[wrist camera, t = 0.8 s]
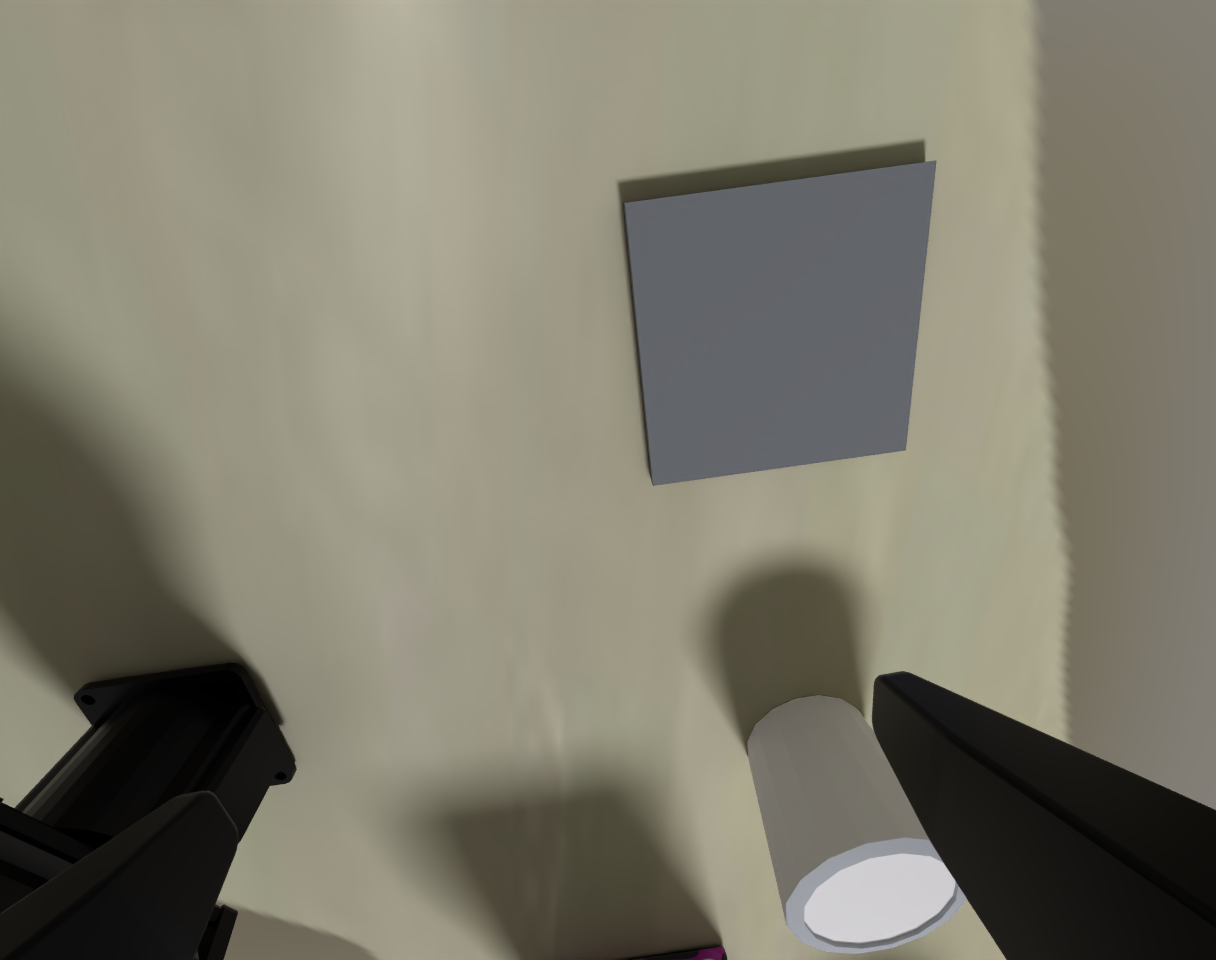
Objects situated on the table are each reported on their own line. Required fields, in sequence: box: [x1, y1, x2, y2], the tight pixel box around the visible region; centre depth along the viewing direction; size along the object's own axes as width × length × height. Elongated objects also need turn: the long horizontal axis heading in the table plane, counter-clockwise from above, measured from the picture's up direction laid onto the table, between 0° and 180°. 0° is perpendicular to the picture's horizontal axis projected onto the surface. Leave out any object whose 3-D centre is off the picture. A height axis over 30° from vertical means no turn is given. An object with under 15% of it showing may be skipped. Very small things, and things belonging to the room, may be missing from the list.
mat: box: [623, 161, 936, 486], centre depth 18 cm, size 9×9×1 cm
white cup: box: [747, 695, 967, 954], centre depth 23 cm, size 7×7×7 cm
